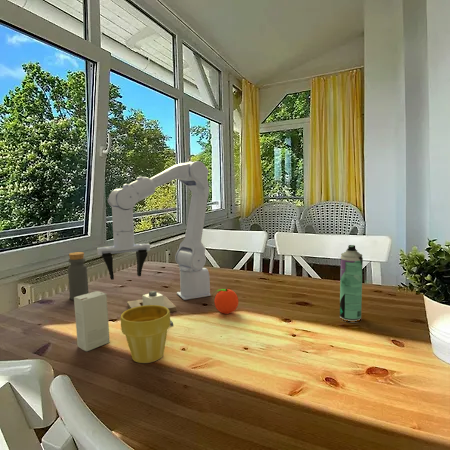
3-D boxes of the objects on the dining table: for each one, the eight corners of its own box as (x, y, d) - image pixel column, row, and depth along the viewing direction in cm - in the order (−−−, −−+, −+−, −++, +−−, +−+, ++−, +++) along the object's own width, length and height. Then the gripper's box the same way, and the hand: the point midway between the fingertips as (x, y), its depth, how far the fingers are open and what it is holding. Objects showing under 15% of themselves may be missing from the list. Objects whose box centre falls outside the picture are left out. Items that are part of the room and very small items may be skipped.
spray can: (360, 316, 97) (362, 244, 95) (361, 323, 92) (363, 247, 90) (339, 314, 99) (341, 243, 97) (339, 321, 94) (340, 246, 92)
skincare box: (100, 338, 86) (97, 289, 85) (110, 343, 83) (108, 293, 82) (76, 347, 81) (72, 296, 80) (86, 353, 79) (82, 300, 77)
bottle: (82, 300, 115) (79, 255, 114) (66, 299, 117) (62, 254, 115) (92, 295, 121) (89, 251, 119) (76, 294, 122) (73, 251, 121)
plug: (156, 316, 98) (155, 289, 97) (164, 320, 95) (163, 292, 94) (143, 320, 96) (142, 292, 95) (151, 324, 93) (149, 295, 92)
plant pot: (112, 363, 74) (109, 318, 73) (140, 342, 83) (138, 302, 82) (155, 372, 70) (153, 324, 69) (180, 349, 80) (178, 307, 78)
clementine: (207, 315, 100) (206, 290, 99) (216, 307, 107) (215, 284, 106) (234, 318, 97) (233, 293, 97) (241, 310, 104) (241, 286, 103)
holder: (165, 299, 115) (165, 295, 115) (176, 310, 104) (176, 306, 104) (127, 305, 110) (127, 301, 110) (135, 318, 99) (134, 313, 99)
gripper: (145, 227, 108) (147, 271, 110) (95, 231, 102) (98, 277, 103) (151, 230, 102) (153, 276, 103) (97, 233, 96) (100, 283, 97)
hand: (125, 277), depth 103 cm, fingers open, 7 cm apart
